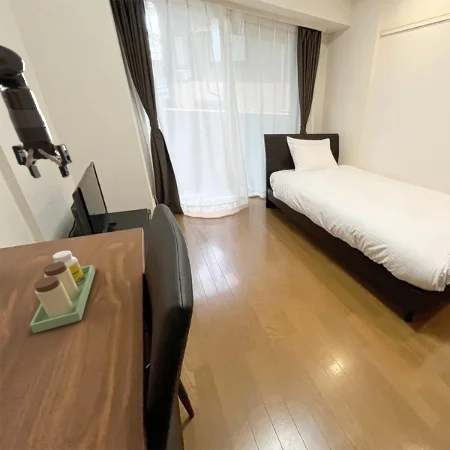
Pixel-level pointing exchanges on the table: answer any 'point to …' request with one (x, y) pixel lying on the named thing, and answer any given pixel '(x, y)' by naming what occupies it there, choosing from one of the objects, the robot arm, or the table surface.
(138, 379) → the table surface
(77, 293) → the cream bottle middle
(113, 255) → the table surface
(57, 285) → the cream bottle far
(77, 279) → the supplement bottle
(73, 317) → the tray
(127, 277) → the table surface
